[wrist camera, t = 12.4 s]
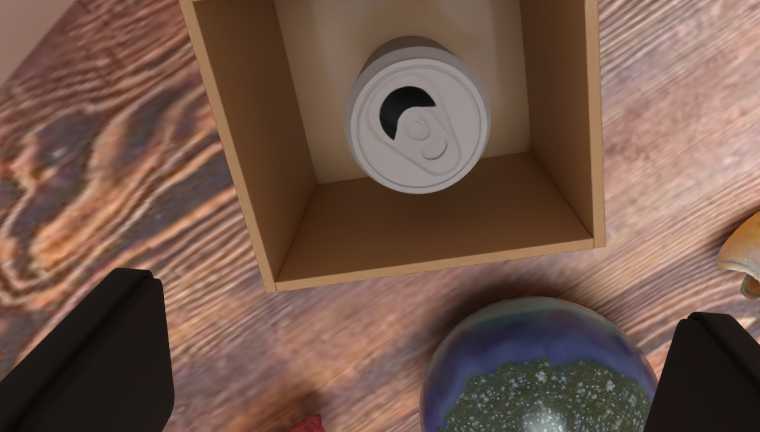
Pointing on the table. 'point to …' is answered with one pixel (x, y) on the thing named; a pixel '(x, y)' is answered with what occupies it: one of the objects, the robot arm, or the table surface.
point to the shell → (744, 255)
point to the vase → (536, 372)
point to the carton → (352, 184)
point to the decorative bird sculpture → (309, 425)
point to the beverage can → (417, 116)
